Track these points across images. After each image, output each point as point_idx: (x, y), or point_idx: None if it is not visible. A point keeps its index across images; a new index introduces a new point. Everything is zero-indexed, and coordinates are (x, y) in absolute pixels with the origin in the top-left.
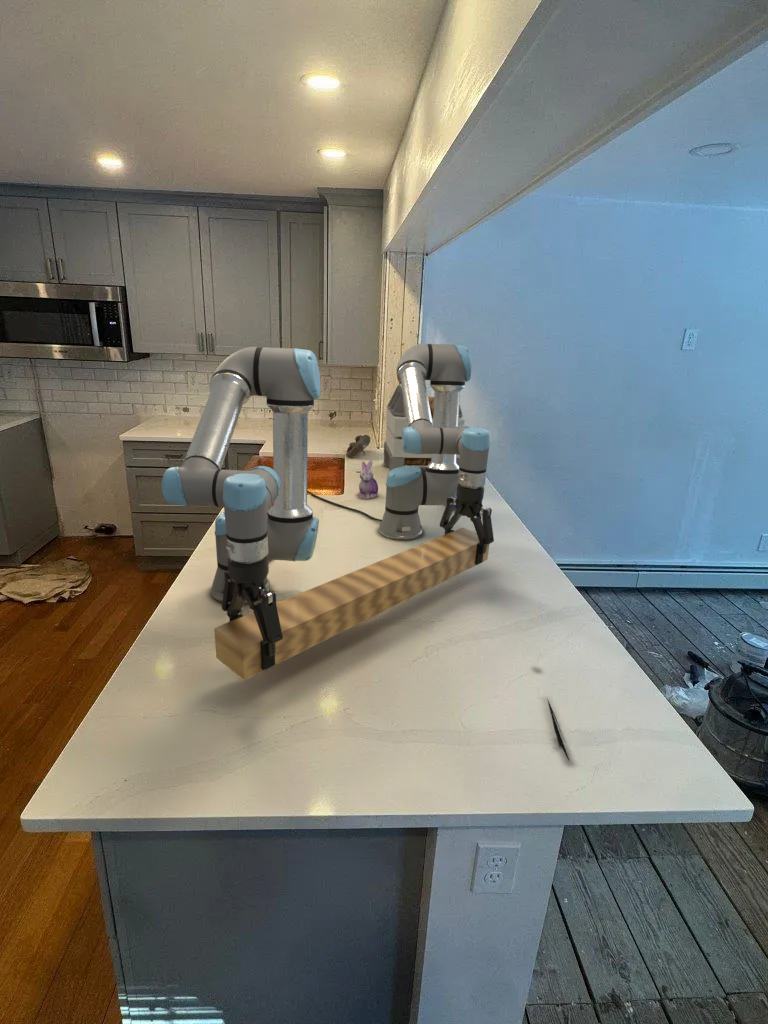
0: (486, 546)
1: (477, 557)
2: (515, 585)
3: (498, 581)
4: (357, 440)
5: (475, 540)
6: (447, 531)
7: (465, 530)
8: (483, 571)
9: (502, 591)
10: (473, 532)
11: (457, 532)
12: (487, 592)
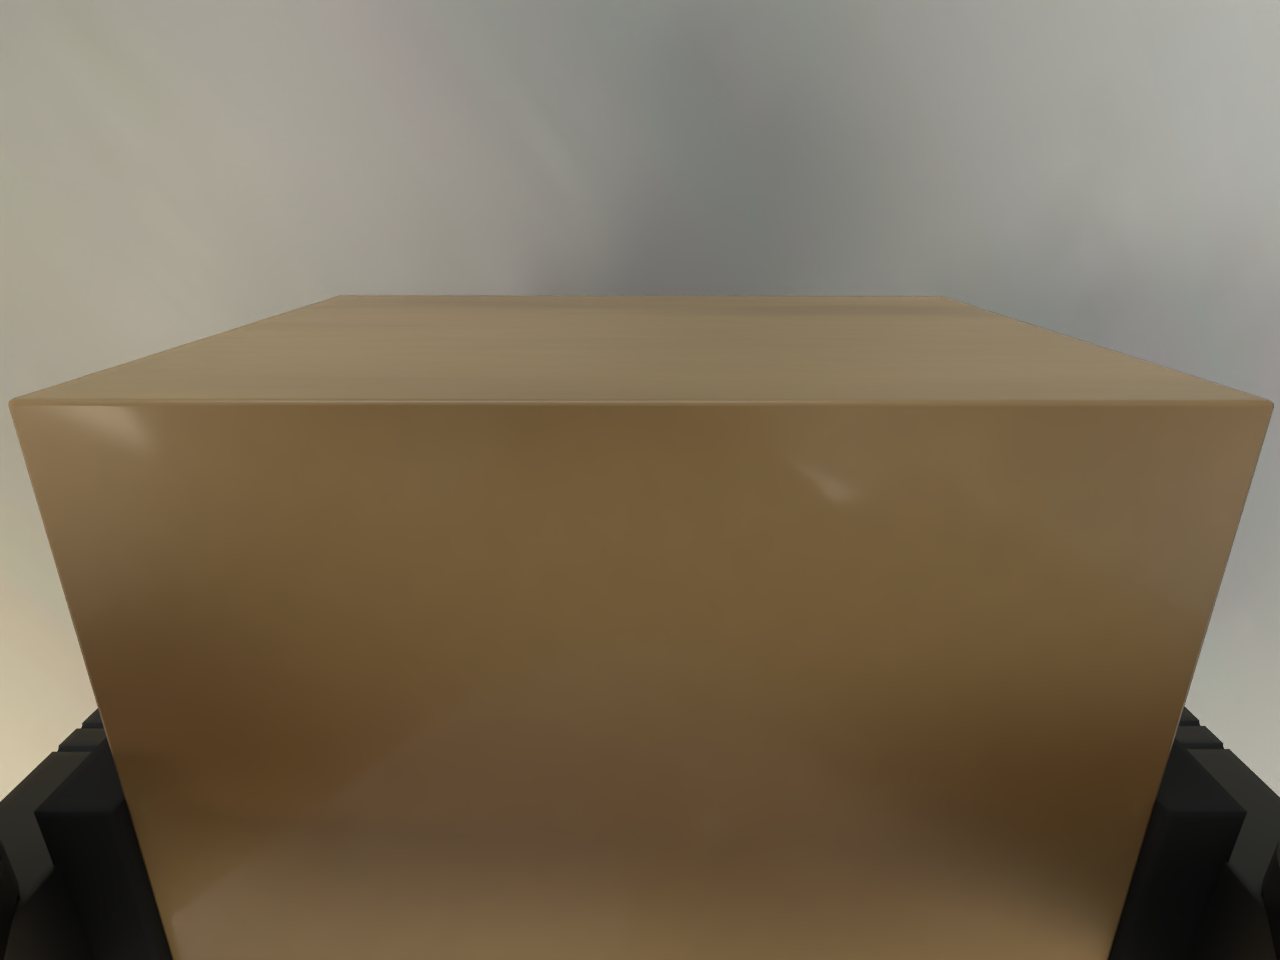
0: (1274, 797)
1: None
2: (1205, 69)
3: (981, 144)
4: None
5: (968, 883)
6: (79, 956)
7: (280, 525)
8: (691, 30)
9: (1121, 340)
10: (577, 465)
11: (276, 830)
12: None
